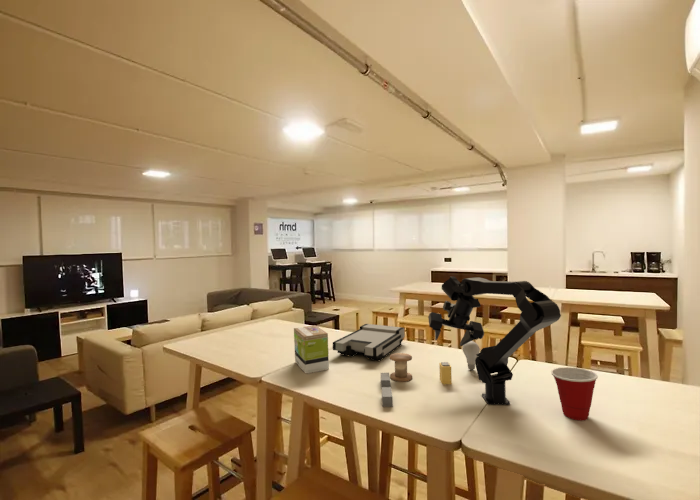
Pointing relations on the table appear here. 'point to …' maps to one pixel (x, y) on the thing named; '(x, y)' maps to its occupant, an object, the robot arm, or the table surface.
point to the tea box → (311, 349)
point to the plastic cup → (575, 391)
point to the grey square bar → (386, 390)
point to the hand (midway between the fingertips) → (448, 342)
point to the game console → (371, 341)
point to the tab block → (445, 373)
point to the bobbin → (401, 367)
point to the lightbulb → (471, 353)
